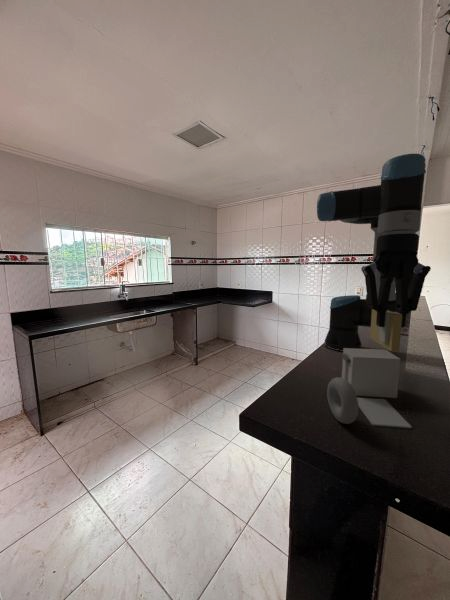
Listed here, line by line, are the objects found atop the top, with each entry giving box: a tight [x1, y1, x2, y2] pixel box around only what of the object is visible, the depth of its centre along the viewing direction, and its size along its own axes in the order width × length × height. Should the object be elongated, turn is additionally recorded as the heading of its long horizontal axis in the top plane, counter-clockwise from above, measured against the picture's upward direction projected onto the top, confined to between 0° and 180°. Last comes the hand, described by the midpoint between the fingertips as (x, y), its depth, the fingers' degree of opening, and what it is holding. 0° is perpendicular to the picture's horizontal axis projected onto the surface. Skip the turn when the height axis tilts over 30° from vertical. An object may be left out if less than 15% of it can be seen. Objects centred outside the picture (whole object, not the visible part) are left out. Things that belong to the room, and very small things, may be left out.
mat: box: [357, 397, 413, 429], centre depth 62 cm, size 12×8×1 cm, turn 172°
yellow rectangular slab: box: [369, 309, 402, 353], centre depth 59 cm, size 2×11×8 cm, turn 171°
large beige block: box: [341, 348, 401, 399], centre depth 73 cm, size 8×13×11 cm, turn 82°
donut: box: [326, 376, 359, 425], centre depth 58 cm, size 10×4×10 cm, turn 4°
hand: (388, 341), depth 57 cm, fingers closed on yellow rectangular slab, 2 cm apart
